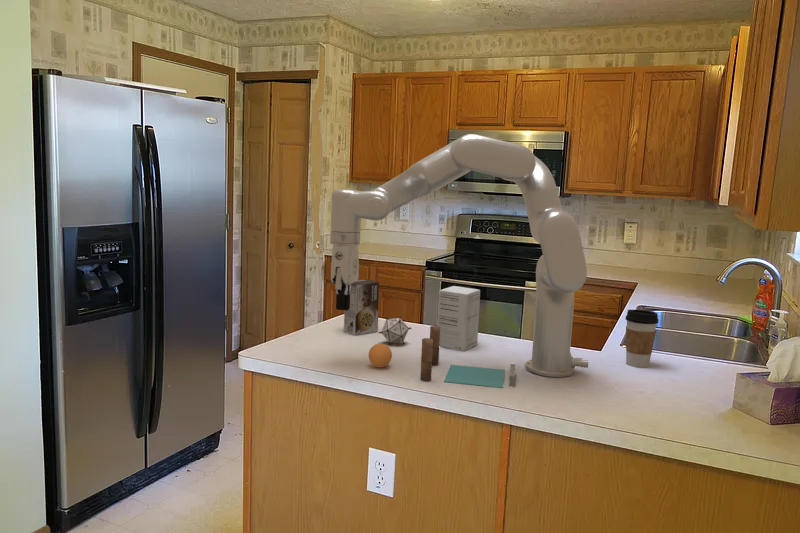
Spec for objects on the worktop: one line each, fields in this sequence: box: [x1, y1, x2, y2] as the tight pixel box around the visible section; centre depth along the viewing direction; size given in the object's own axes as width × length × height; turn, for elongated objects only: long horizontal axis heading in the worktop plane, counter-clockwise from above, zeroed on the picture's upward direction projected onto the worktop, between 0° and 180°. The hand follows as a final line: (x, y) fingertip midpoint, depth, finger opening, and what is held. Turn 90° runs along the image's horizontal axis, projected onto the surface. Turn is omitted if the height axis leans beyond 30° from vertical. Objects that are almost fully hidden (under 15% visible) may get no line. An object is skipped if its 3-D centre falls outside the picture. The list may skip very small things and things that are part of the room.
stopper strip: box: [508, 363, 516, 387], centre depth 151 cm, size 1×10×2 cm, turn 169°
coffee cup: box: [625, 309, 659, 369], centre depth 167 cm, size 8×8×15 cm
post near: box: [419, 337, 433, 382], centre depth 148 cm, size 3×3×10 cm
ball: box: [368, 343, 393, 368], centre depth 157 cm, size 6×6×6 cm
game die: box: [378, 315, 412, 346], centre depth 179 cm, size 9×8×10 cm
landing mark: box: [443, 364, 505, 389], centre depth 152 cm, size 14×14×1 cm
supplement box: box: [436, 285, 481, 352], centre depth 179 cm, size 10×9×17 cm
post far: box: [429, 325, 440, 367], centre depth 160 cm, size 3×3×10 cm
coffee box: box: [343, 278, 380, 336], centre depth 191 cm, size 9×6×16 cm
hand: (342, 309), depth 157 cm, fingers closed
